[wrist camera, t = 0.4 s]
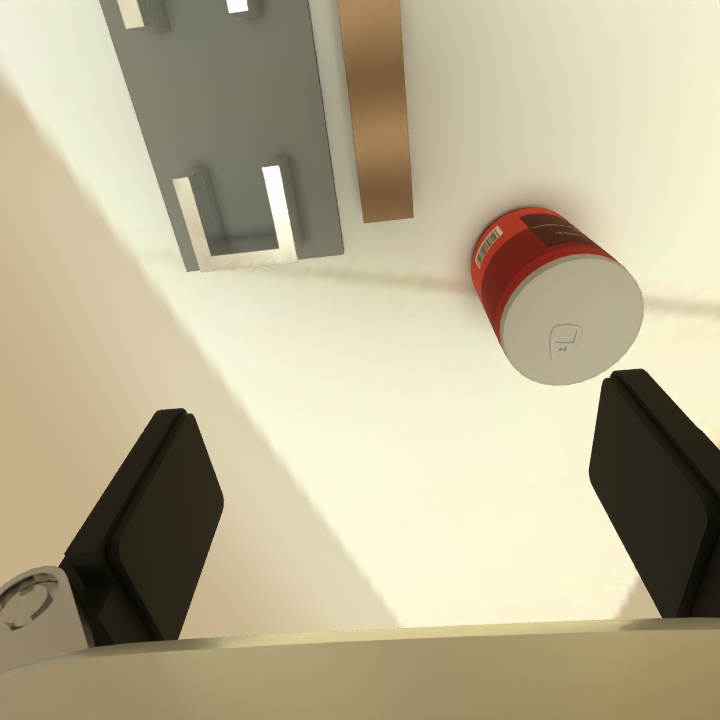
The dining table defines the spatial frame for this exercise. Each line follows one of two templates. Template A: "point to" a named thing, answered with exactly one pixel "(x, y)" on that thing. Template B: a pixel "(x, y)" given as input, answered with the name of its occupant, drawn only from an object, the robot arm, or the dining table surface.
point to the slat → (378, 106)
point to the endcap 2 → (241, 250)
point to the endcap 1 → (149, 15)
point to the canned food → (554, 297)
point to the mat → (233, 112)
